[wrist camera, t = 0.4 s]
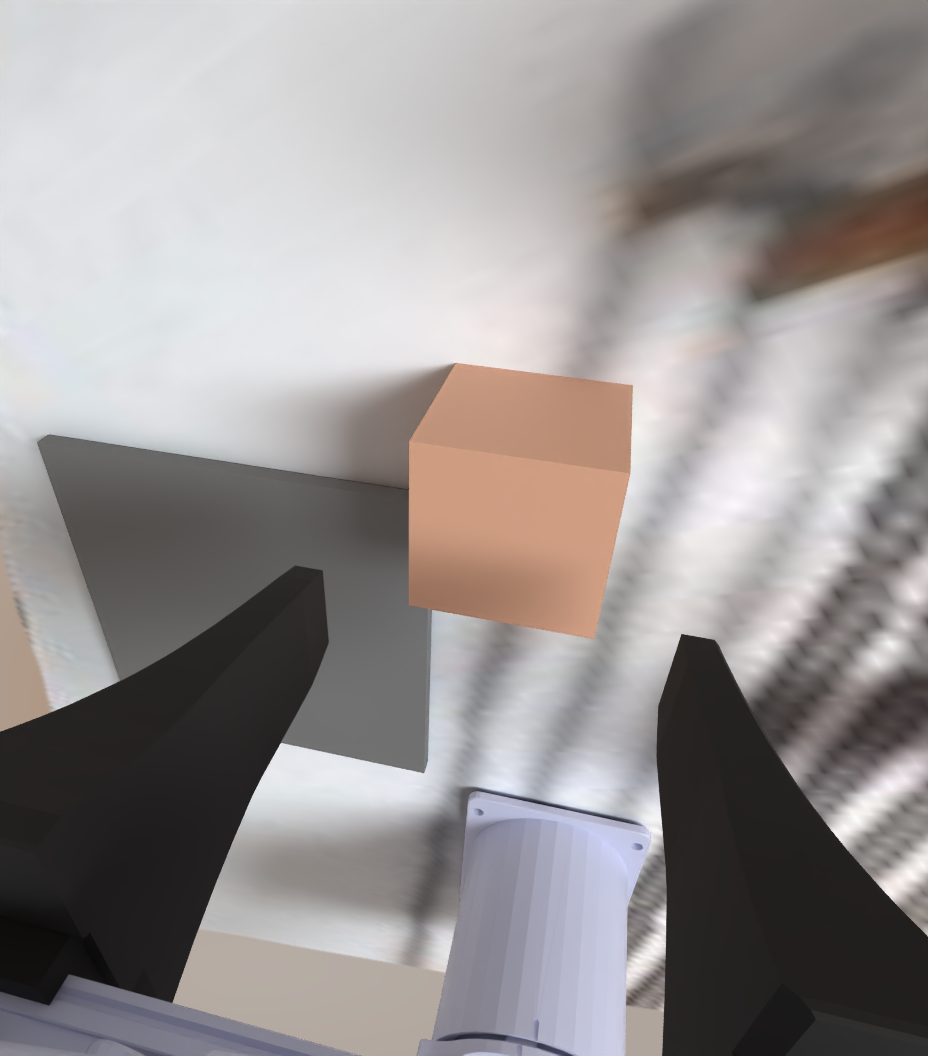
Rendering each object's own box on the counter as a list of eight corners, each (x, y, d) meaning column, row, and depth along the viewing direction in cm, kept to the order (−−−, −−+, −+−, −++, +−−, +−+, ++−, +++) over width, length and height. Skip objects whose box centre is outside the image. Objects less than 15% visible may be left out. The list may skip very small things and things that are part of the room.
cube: (603, 531, 22) (594, 639, 18) (450, 507, 23) (408, 605, 19) (632, 384, 19) (630, 473, 15) (456, 362, 20) (408, 440, 16)
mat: (427, 761, 30) (424, 773, 30) (138, 700, 32) (130, 710, 32) (434, 494, 22) (430, 503, 22) (48, 434, 24) (36, 442, 24)
